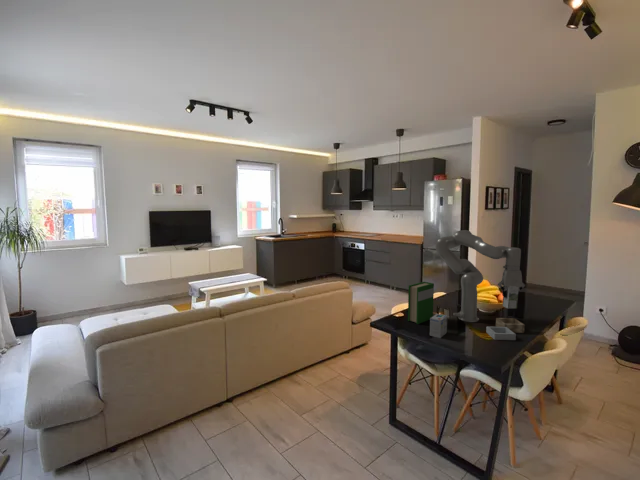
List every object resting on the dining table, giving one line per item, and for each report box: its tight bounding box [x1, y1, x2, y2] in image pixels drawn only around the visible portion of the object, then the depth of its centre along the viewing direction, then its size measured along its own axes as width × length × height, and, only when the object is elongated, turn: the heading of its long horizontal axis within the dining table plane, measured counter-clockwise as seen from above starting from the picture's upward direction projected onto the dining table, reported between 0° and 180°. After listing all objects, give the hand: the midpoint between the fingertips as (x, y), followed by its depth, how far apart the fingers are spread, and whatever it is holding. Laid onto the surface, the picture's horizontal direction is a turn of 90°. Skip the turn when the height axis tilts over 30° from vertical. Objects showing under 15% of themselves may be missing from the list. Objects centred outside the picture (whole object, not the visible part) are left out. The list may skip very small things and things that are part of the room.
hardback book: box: [407, 281, 435, 325], centre depth 221 cm, size 18×7×24 cm, turn 130°
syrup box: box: [502, 286, 519, 310], centre depth 203 cm, size 6×6×14 cm
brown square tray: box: [495, 317, 526, 334], centre depth 204 cm, size 11×11×5 cm
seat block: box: [485, 326, 517, 341], centre depth 193 cm, size 11×11×4 cm
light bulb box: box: [429, 313, 448, 339], centre depth 197 cm, size 11×7×11 cm, turn 141°
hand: (510, 296), depth 203 cm, fingers closed on syrup box, 6 cm apart
